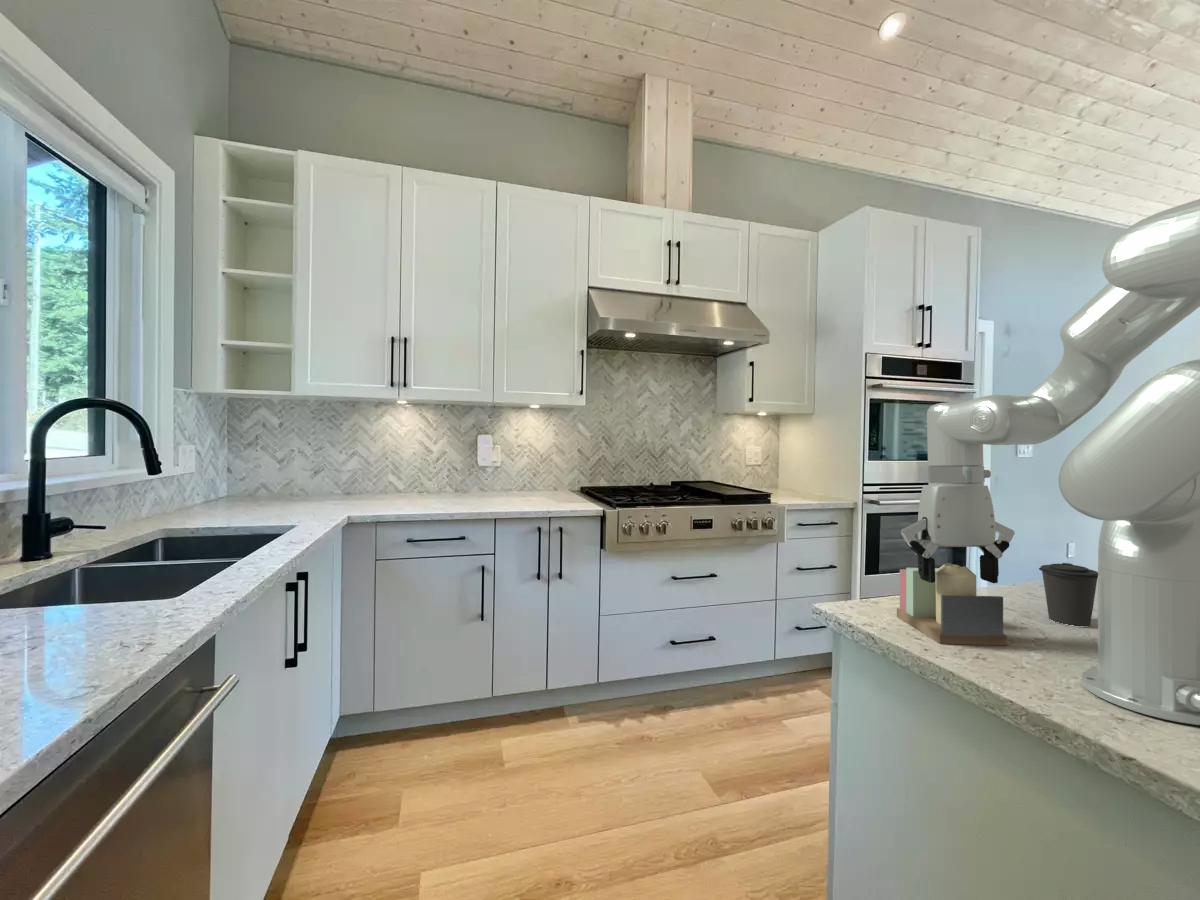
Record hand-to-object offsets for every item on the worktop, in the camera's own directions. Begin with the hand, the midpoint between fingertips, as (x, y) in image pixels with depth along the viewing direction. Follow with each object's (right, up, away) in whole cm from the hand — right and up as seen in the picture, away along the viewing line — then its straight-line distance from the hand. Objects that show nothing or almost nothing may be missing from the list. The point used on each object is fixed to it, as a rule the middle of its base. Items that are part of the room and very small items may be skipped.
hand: (958, 581), depth 83 cm
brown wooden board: (0, -9, +3) cm, 9 cm away
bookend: (0, -7, -4) cm, 8 cm away
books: (0, -7, +7) cm, 10 cm away
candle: (0, -8, 0) cm, 8 cm away
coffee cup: (+24, -9, +6) cm, 27 cm away
